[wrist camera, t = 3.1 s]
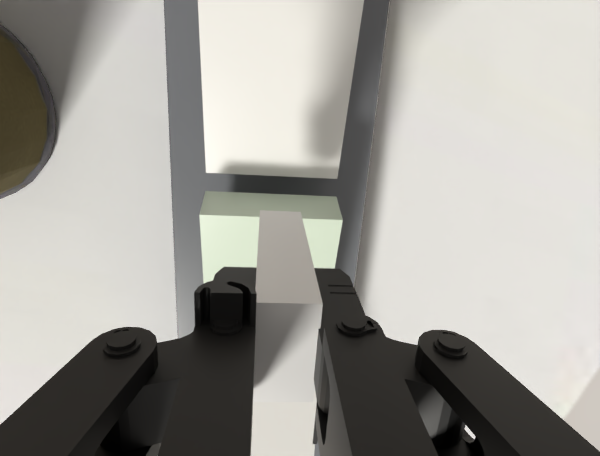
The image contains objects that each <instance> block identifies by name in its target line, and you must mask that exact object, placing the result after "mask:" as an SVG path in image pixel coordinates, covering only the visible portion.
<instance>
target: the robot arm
mask: <svg viewBox="0 0 600 456" xmlns="http://www.w3.org/2000/svg"><path fill="white" fill-rule="evenodd" d="M194 311H195V327H194V330H193V332H192V333H190V334H189V335H186V336H184V337H182V338H178V339H175V340H170V341H165V342H160V343H157V341H156V336H155V335H154V334H153V333H152V332H150V331H149V330H146V329H143V328H140V327H122V328H117V329H113V330H111V331H108V332H106V333H103V334H101V335H99V336H98V337H96V338H95V339H93V340H92V341H91V342H90V343H89V344H88V345H87V346H85V347H84V348H83V349H82V350H81V351H80V352H79V353H78V354H77V355H76V356H75V357H73V358H72V359H71V360H70V361H69V362H68V363H67V364H66V365H65V366H64V367H63V368H62V369H60V370H59V371H58V372H57V373H56V374H55V375H54V376H53V377H52V378H51V379H50V380H48V381H47V382H46V383H45V384H44V385H43V386H42V387H41V388H40V389H39V390H38V391H37V392H35V393H34V394H33V395H32V396H31V397H30V398H29V399H28V400H27V401H26V402H25V403H23V404H22V405H21V406H20V407H19V408H18V409H17V410H16V411H15V412H14V413H13V414H12V415H10V416H9V417H8V418H7V419H6V420H5V421H4V422H3V423H2V424H1V425H0V456H251V440H252V415H253V402H313V400H314V390H315V392H316V398H317V404H316V414H315V424H314V434H313V444H317V442H318V445H319V453H320V456H600V452H599V451H598V450H597V449H596V448H595V447H594V446H592V445H591V444H590V443H589V442H588V441H587V440H585V439H584V438H583V437H582V436H581V435H580V434H579V433H578V432H576V431H575V430H574V429H573V428H572V427H571V426H569V425H568V424H567V423H566V422H565V421H564V420H563V419H561V418H560V417H559V416H558V415H557V414H556V413H555V412H553V411H552V410H551V409H550V408H549V407H548V406H547V405H545V404H544V403H543V402H542V401H541V400H540V399H538V398H537V397H536V396H535V395H534V394H533V393H532V392H530V391H529V390H528V389H527V388H526V387H525V386H524V385H522V384H521V383H520V382H519V381H518V380H517V379H516V378H514V377H513V376H512V375H511V374H510V373H509V372H507V371H506V370H505V369H504V368H503V367H502V366H501V365H499V364H498V363H497V362H496V361H495V360H494V359H493V358H491V357H490V356H489V355H488V354H487V353H486V352H485V351H483V350H482V349H481V348H480V347H479V346H478V345H476V344H475V343H474V342H472V341H471V340H469V339H468V338H466V337H464V336H462V335H459V334H457V333H455V332H452V331H447V330H431V331H428V332H425V333H423V334H422V335H421V336H420V337H419V341H418V345H413V344H409V343H404V342H399V341H396V340H392V339H389V338H387V337H385V335H384V332H383V330H382V328H381V327H380V325H379V324H378V323H377V322H376V321H375V320H373V319H371V318H370V317H368V316H365V313H364V311H363V308H362V306H361V303H360V301H359V298H358V296H357V295H356V291H355V289H354V287H353V284H352V281H351V279H350V276H348V275H347V274H346V273H345V272H343V271H342V270H341V269H334V268H314V265H313V261H312V257H311V253H310V249H309V244H308V240H307V236H306V232H305V228H304V224H303V219H302V215H301V212H290V211H266V210H260V219H259V236H258V253H257V268H255V267H223V268H222V269H220V270H219V271H218V272H217V273H216V274H215V276H214V279H213V281H209V282H206V283H204V284H202V285H200V286H199V287H198V288H197V289H196V290H195V292H194ZM465 424H466V425H467V427H468V428H469V429H470V430H471V431H472V432H473V434H474V435H475V436H476V438H475V440H474V439H473V438H472V437H471V436H470V435H469V434H468V433H467V432H466V431H465V430H464V428H465Z"/></svg>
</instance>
